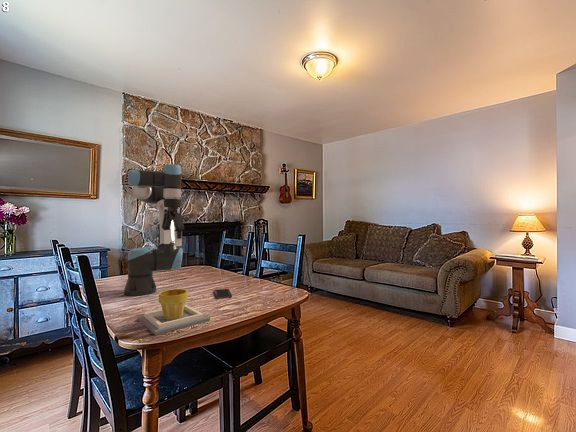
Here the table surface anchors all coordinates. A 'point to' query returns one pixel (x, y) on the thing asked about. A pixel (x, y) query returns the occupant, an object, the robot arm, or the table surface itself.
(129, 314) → the table surface
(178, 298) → the plant pot
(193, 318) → the board
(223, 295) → the phone
